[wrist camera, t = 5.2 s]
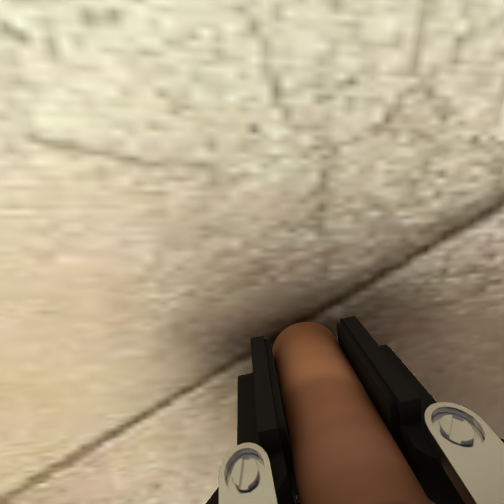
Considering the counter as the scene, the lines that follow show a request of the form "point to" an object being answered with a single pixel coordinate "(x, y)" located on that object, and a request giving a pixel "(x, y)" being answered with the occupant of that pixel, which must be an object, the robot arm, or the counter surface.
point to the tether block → (336, 426)
